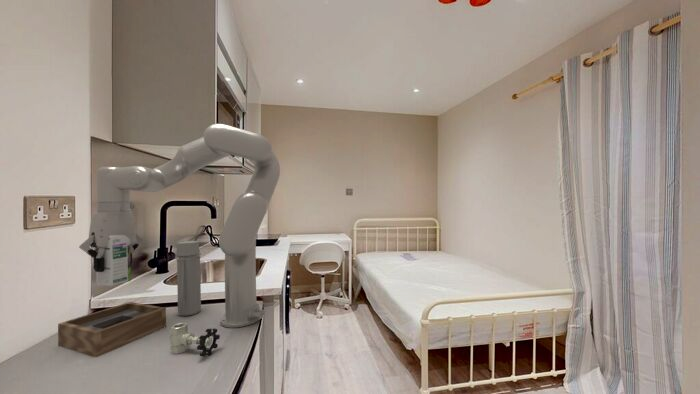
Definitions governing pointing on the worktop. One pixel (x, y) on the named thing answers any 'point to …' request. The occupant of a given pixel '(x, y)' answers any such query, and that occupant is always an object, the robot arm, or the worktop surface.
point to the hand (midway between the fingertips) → (113, 268)
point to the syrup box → (115, 262)
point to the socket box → (110, 328)
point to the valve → (192, 339)
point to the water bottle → (188, 278)
